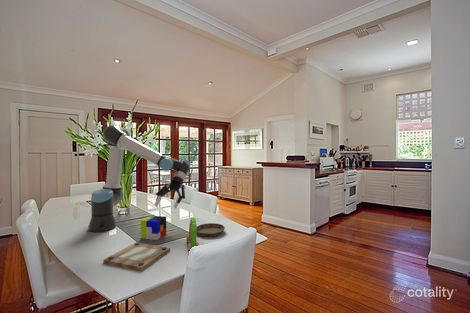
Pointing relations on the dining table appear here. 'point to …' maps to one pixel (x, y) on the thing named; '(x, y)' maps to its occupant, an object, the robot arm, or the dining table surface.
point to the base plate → (137, 256)
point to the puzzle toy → (153, 227)
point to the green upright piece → (192, 234)
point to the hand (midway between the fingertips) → (165, 206)
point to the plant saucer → (210, 229)
